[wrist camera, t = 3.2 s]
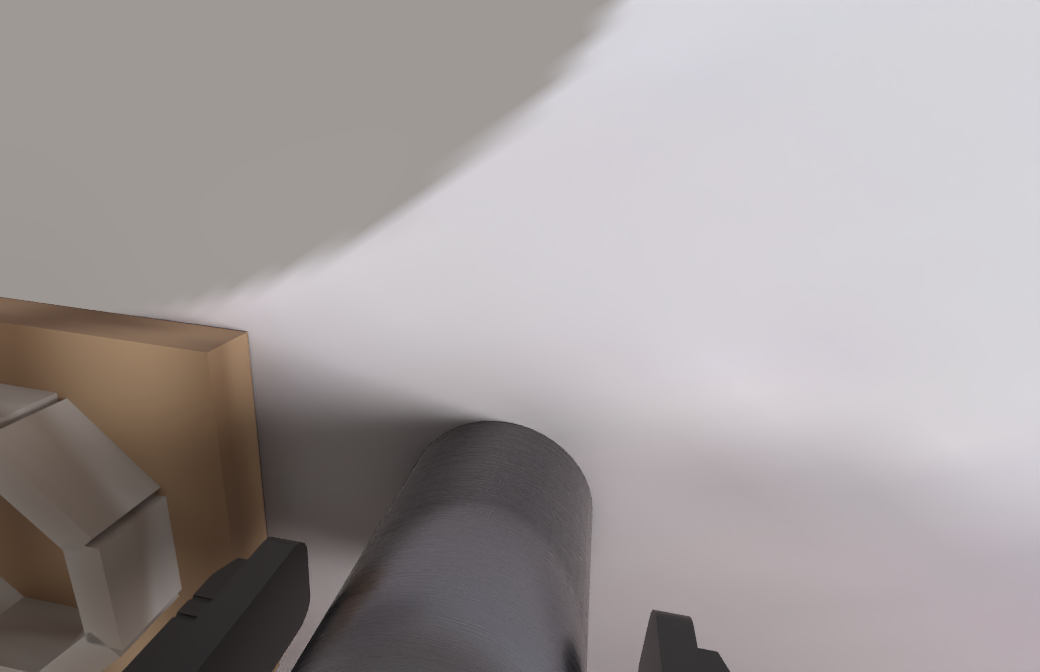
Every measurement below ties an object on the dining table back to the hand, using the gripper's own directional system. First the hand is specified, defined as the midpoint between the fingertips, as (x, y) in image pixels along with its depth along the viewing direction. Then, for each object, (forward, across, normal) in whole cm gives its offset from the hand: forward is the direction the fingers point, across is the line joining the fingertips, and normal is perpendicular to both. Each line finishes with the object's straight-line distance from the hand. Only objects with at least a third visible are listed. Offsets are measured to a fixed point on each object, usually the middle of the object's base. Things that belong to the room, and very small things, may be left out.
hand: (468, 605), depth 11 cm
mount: (+3, +13, +2) cm, 14 cm away
